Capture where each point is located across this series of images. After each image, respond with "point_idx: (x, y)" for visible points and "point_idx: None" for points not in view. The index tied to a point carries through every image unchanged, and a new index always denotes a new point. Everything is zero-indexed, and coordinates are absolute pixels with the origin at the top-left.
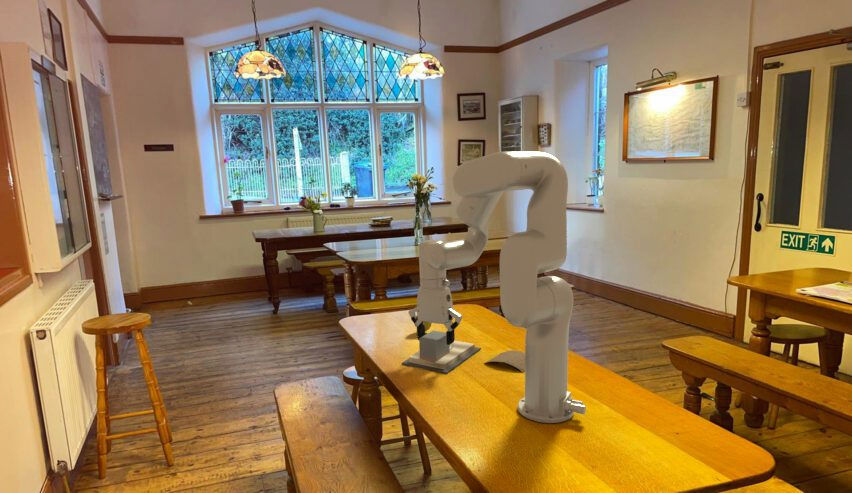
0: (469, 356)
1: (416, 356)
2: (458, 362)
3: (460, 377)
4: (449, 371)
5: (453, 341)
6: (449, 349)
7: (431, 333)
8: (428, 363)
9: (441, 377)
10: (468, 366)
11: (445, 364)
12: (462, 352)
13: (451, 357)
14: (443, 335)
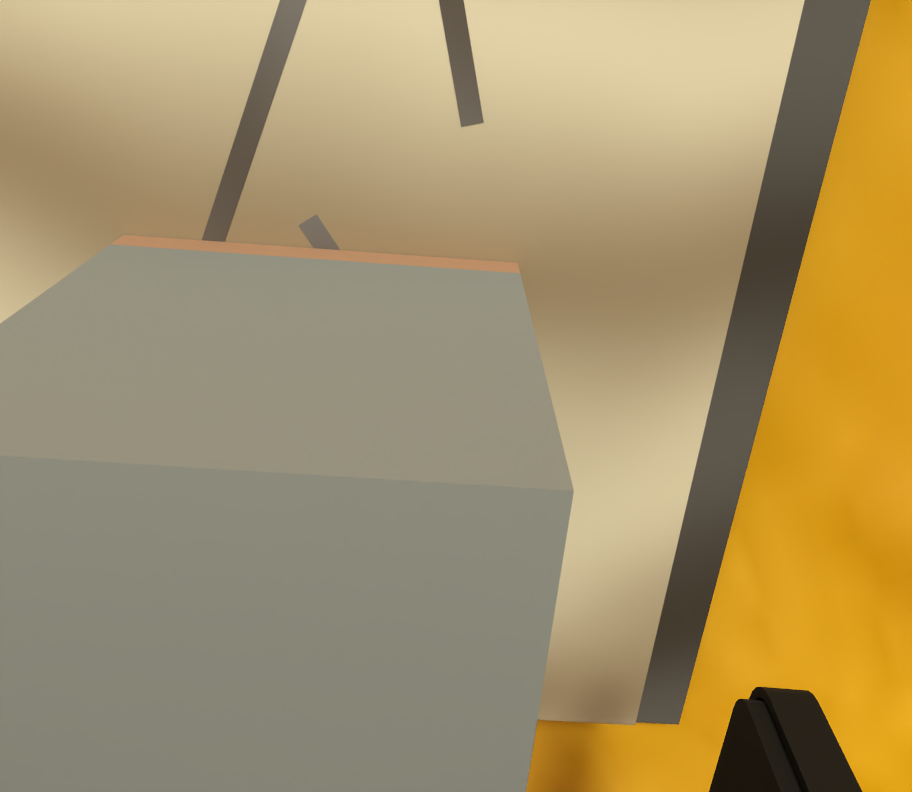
0: (867, 3)
1: None
2: (736, 386)
3: (861, 720)
4: (689, 663)
5: (807, 714)
6: (523, 293)
7: (19, 718)
8: None
9: (640, 786)
10: (904, 391)
11: (637, 702)
12: (772, 126)
13: (640, 465)
14: (475, 735)
